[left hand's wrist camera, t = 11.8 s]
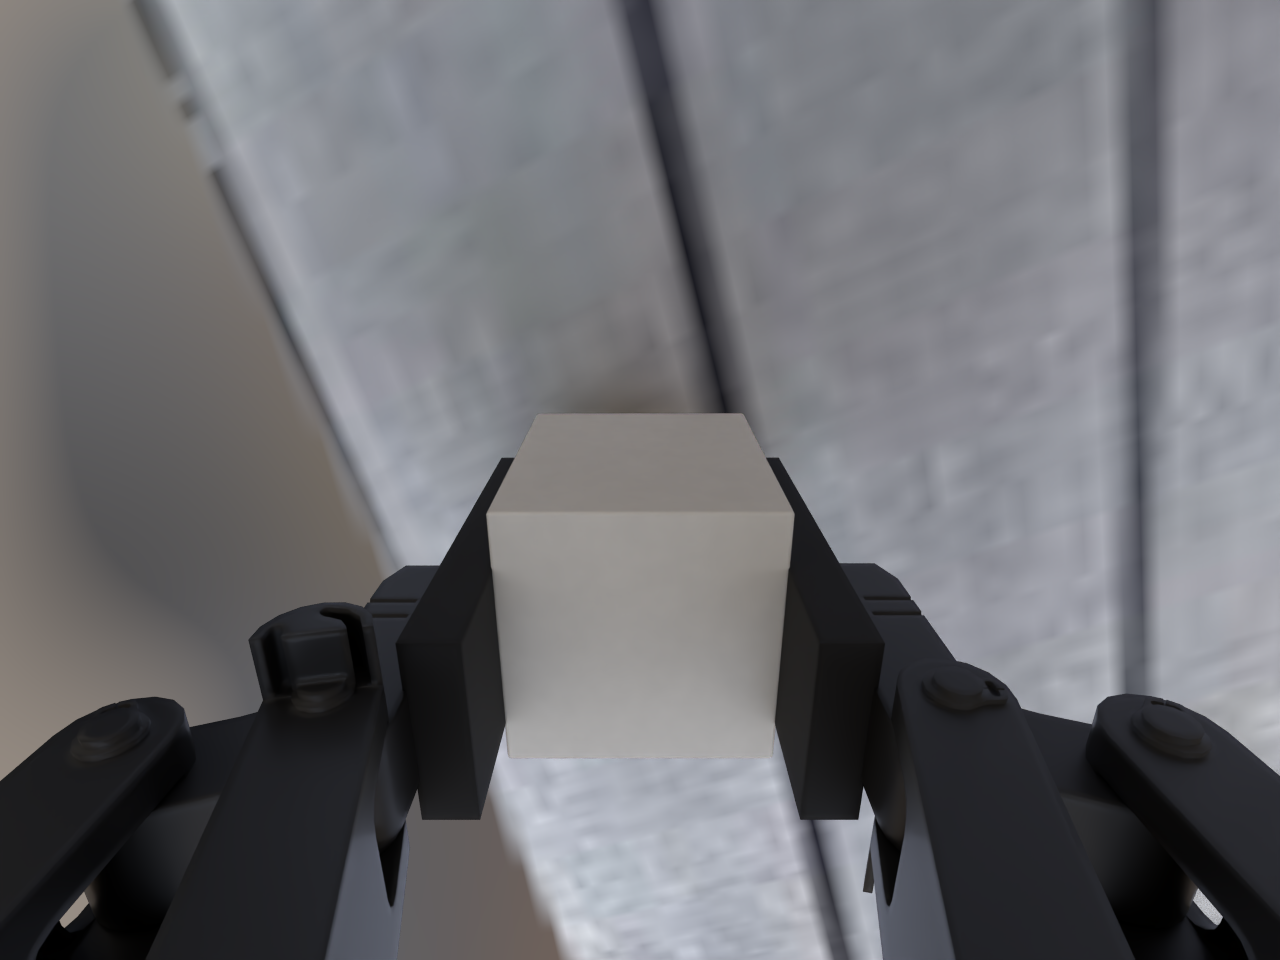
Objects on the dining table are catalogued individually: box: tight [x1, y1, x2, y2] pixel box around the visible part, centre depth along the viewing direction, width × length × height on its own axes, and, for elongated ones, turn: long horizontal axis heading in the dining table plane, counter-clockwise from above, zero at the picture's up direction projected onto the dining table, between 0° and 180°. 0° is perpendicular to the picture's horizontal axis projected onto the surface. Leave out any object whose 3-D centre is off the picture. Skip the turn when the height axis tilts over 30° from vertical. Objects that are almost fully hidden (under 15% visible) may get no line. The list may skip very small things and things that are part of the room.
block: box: [486, 413, 795, 758], centre depth 12 cm, size 4×4×5 cm
